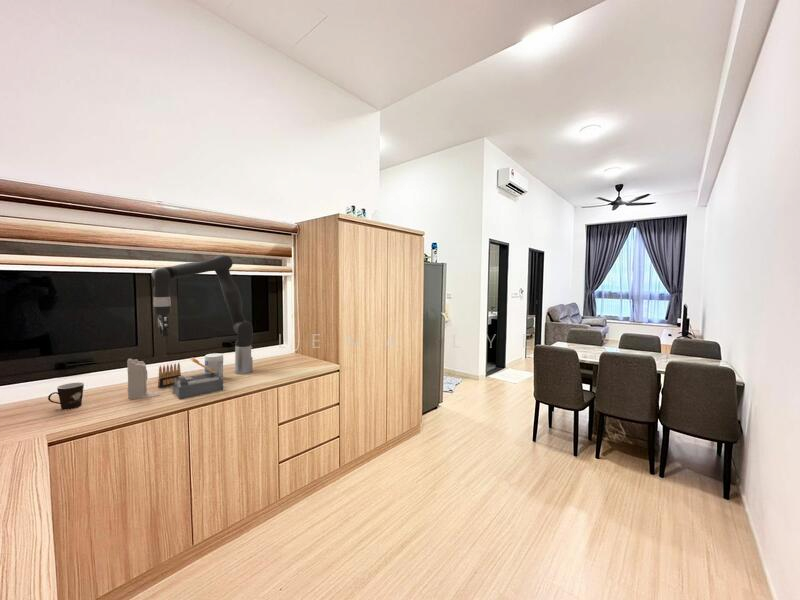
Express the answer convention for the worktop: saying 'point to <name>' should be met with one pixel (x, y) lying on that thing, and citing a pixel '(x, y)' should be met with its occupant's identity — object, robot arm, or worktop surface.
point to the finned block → (197, 385)
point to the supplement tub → (214, 363)
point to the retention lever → (202, 365)
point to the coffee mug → (69, 395)
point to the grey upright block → (138, 380)
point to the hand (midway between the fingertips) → (163, 335)
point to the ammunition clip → (168, 375)
